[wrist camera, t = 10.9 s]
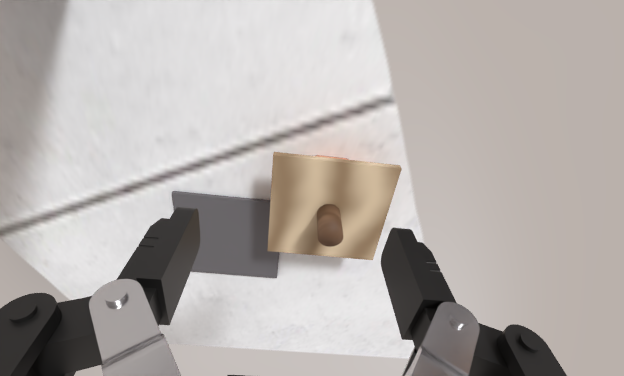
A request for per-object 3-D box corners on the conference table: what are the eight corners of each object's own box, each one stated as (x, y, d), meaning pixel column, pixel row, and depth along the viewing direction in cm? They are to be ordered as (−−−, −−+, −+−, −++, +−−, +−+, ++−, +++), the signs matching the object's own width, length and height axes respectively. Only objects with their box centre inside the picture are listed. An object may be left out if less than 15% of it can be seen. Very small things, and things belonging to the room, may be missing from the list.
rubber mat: (184, 268, 53) (183, 270, 52) (173, 191, 44) (171, 193, 44) (276, 275, 54) (276, 278, 53) (283, 201, 45) (283, 203, 45)
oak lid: (268, 247, 43) (263, 276, 39) (273, 151, 35) (268, 174, 31) (371, 256, 44) (378, 285, 40) (399, 165, 36) (412, 189, 32)
